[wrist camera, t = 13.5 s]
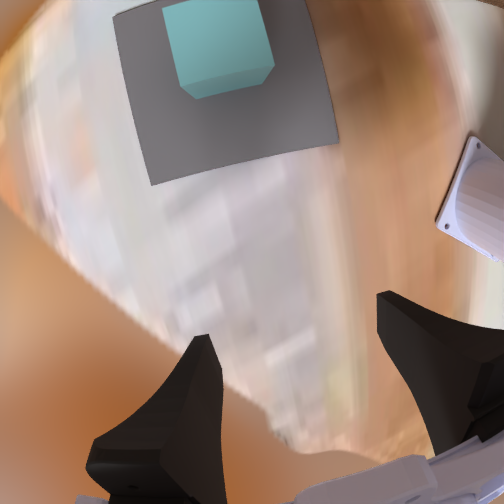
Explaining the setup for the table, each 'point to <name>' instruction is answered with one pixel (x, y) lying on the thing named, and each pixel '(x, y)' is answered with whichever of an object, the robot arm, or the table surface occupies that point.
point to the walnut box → (494, 2)
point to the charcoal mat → (224, 96)
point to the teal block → (218, 45)
